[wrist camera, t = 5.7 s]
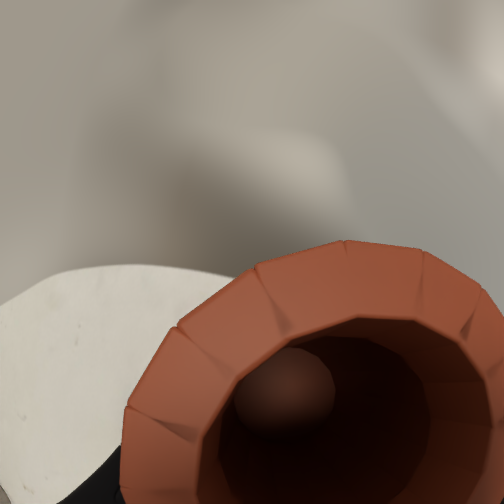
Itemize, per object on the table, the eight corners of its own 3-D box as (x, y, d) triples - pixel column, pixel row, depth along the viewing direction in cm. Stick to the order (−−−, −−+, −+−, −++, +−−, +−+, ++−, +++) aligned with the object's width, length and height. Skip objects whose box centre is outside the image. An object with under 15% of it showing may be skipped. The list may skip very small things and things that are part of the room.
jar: (353, 426, 13) (531, 501, 2) (243, 460, 13) (209, 636, 1) (322, 324, 16) (466, 201, 4) (212, 355, 15) (75, 309, 3)
